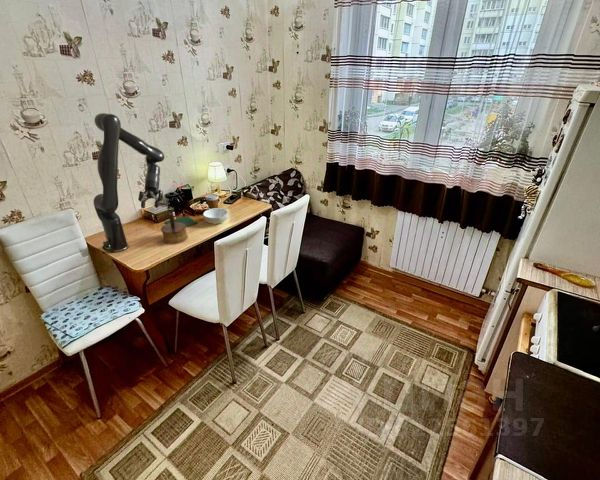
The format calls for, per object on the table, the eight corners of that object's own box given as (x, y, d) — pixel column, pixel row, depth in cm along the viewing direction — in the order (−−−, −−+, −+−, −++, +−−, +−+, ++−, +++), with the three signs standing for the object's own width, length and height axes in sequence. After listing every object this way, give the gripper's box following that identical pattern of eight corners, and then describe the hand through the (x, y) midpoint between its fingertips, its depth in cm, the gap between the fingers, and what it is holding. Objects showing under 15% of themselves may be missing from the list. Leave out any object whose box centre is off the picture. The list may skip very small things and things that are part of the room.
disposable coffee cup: (220, 212, 229) (218, 197, 224) (206, 213, 228) (204, 198, 222) (220, 208, 238) (218, 193, 232) (207, 208, 236) (205, 194, 230)
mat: (174, 230, 203) (174, 229, 202) (165, 222, 213) (164, 221, 213) (196, 223, 212) (196, 223, 212) (186, 216, 222) (186, 215, 222)
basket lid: (161, 236, 181) (158, 220, 176) (160, 226, 192) (157, 211, 187) (187, 231, 186) (184, 216, 181) (184, 222, 198) (182, 207, 193)
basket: (164, 245, 185) (162, 234, 181) (163, 236, 195) (161, 225, 192) (188, 241, 190) (186, 230, 186) (185, 232, 200) (184, 222, 197)
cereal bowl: (200, 221, 216) (198, 211, 213) (221, 215, 226) (220, 206, 223) (211, 229, 205) (210, 219, 202) (233, 222, 215) (232, 213, 212)
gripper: (137, 180, 180) (134, 206, 176) (159, 178, 177) (156, 205, 174) (145, 185, 187) (142, 210, 183) (166, 183, 184) (164, 209, 181)
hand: (149, 207), depth 179 cm, fingers open, 8 cm apart
